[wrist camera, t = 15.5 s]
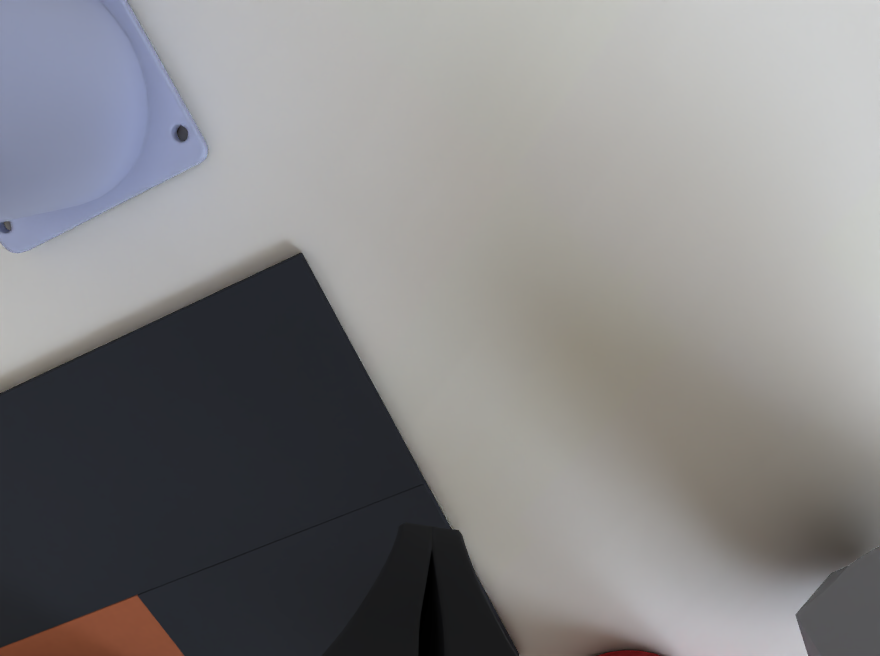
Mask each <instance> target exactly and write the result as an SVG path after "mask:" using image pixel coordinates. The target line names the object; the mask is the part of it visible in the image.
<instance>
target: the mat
mask: <svg viewBox="0 0 880 656" xmlns="http://www.w3.org/2000/svg"><path fill="white" fill-rule="evenodd" d="M404 522H406V523H413V524H419V525H426V526H433V527H440V528H446V529H451V527H450V525H449V524H448V522H447V520H446V518H445V516H444V514H443V512H442V511H441V509H440V507H439V505H438V503H437V501H436V500H435V498H434V496H433V494H432V492H431V490H430V488H429V487H428V485H427V483H426V481H425V479H424V477H423V475H422V474H421V472H420V470H419V468H418V466H417V464H416V463H415V461H414V459H413V457H412V455H411V453H410V451H409V450H408V448H407V446H406V444H405V442H404V440H403V439H402V437H401V435H400V433H399V431H398V429H397V427H396V426H395V424H394V422H393V420H392V418H391V416H390V414H389V413H388V411H387V409H386V407H385V405H384V403H383V402H382V400H381V398H380V396H379V394H378V392H377V390H376V389H375V387H374V385H373V383H372V381H371V379H370V378H369V376H368V374H367V372H366V370H365V368H364V366H363V365H362V363H361V361H360V359H359V357H358V355H357V353H356V352H355V350H354V348H353V346H352V344H351V342H350V341H349V339H348V337H347V335H346V333H345V331H344V329H343V328H342V326H341V324H340V322H339V320H338V318H337V317H336V315H335V313H334V311H333V309H332V307H331V305H330V304H329V302H328V300H327V298H326V296H325V294H324V293H323V291H322V289H321V287H320V285H319V283H318V281H317V280H316V278H315V276H314V274H313V272H312V270H311V268H310V267H309V265H308V263H307V261H306V259H305V257H304V256H303V254H302V253H299V254H297V255H295V256H293V257H291V258H288V259H286V260H284V261H282V262H280V263H278V264H276V265H274V266H271V267H269V268H267V269H265V270H263V271H261V272H259V273H256V274H254V275H252V276H250V277H248V278H246V279H244V280H242V281H239V282H237V283H235V284H233V285H231V286H229V287H227V288H224V289H222V290H220V291H218V292H216V293H214V294H212V295H210V296H207V297H205V298H203V299H201V300H199V301H197V302H195V303H192V304H190V305H188V306H186V307H184V308H182V309H180V310H178V311H175V312H173V313H171V314H169V315H167V316H165V317H163V318H160V319H158V320H156V321H154V322H152V323H150V324H148V325H146V326H143V327H141V328H139V329H137V330H135V331H133V332H131V333H128V334H126V335H124V336H122V337H120V338H118V339H116V340H114V341H111V342H109V343H107V344H105V345H103V346H101V347H99V348H96V349H94V350H92V351H90V352H88V353H86V354H84V355H82V356H79V357H77V358H75V359H73V360H71V361H69V362H67V363H64V364H62V365H60V366H58V367H56V368H54V369H52V370H50V371H47V372H45V373H43V374H41V375H39V376H37V377H35V378H32V379H30V380H28V381H26V382H24V383H22V384H20V385H18V386H15V387H13V388H11V389H9V390H7V391H5V392H3V393H0V656H322V655H323V654H324V653H325V651H326V650H327V649H328V648H329V647H330V645H331V644H332V643H333V642H334V641H335V639H336V638H337V637H338V635H339V634H340V633H341V632H342V630H343V629H344V628H345V626H346V625H347V624H348V622H349V621H350V620H351V618H352V617H353V615H354V614H355V612H356V611H357V609H358V608H359V606H360V605H361V603H362V602H363V600H364V599H365V597H366V596H367V594H368V593H369V591H370V590H371V588H372V586H373V585H374V583H375V581H376V579H377V577H378V575H379V574H380V572H381V570H382V568H383V566H384V565H385V563H386V561H387V558H388V556H389V554H390V552H391V550H392V547H393V545H394V542H395V540H396V536H397V533H398V528H399V525H401V524H403V523H404ZM476 576H477V575H476ZM477 578H478V577H477ZM478 580H479V579H478ZM479 583H480V581H479ZM480 585H481V583H480ZM481 587H482V589H483V592H484V594H485V596H486V598H487V600H488V602H489V604H490V606H491V609H492V611H493V612H494V614H495V616H496V618H497V620H498V622H499V624H500V626H501V628H502V629H503V631H504V633H505V635H506V637H507V639H508V640H509V642H510V644H511V645H512V647H513V649H514V650H515V652H516V654H517V655H518V656H519V653H518V651H517V649H516V647H515V646H514V644H513V642H512V640H511V638H510V636H509V634H508V633H507V631H506V629H505V627H504V625H503V623H502V622H501V620H500V618H499V616H498V614H497V612H496V610H495V609H494V607H493V605H492V603H491V601H490V599H489V597H488V596H487V594H486V592H485V590H484V588H483V586H482V585H481Z"/></svg>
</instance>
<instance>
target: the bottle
mask: <svg viewBox="0 0 880 656" xmlns="http://www.w3.org/2000/svg"><path fill="white" fill-rule="evenodd" d="M796 618H797V621H798V625H799V628H800V631H801V634H802V637H803V641H804V644H805V647H806V650H807V653H808V656H880V546H879V547H877V548H875V549H873V550H872V551H870V552H868V553H867V554H865V555H863V556H862V557H860V558H858V559H857V560H856V561H854V562H853V563H852V564H850V565H849V566H846V567H844V568H842V569H840V570H837V571H835V572H833V573H831V574H830V575H829V576H828V577H827V579H826V580H825V581H824V582H823V583H822V584H821V586H820V587H819V588H818V589H817V590H816V591H815V593H814V594H813V595H812V596H811V597H810V598H809V600H808V601H807V602H806V603H805V604H804V605H803V607H802V608H801V609H800V610H799V611H798V612H797V614H796Z"/></svg>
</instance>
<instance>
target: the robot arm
mask: <svg viewBox="0 0 880 656" xmlns="http://www.w3.org/2000/svg"><path fill="white" fill-rule="evenodd" d="M180 125H182V126H184V127H185V128H186V129H187V132H188V138H187V140H186V141H185V142H184V141H181V140H180V139H179V138H178V135H177V129H178V127H179V126H180ZM207 154H208V146H207V143H206V141H205V139H204V137H203V135H202V134H201V132H200V130H199V128H198V127H197V125H196V123H195V121H194V119H193V118H192V116H191V114H190V112H189V110H188V109H187V107H186V105H185V103H184V102H183V100H182V98H181V96H180V94H179V93H178V91H177V89H176V87H175V85H174V84H173V82H172V80H171V78H170V77H169V75H168V73H167V71H166V69H165V68H164V66H163V64H162V62H161V60H160V59H159V57H158V55H157V53H156V52H155V50H154V48H153V46H152V44H151V43H150V41H149V39H148V37H147V35H146V34H145V32H144V30H143V28H142V27H141V25H140V23H139V21H138V19H137V18H136V16H135V14H134V12H133V10H132V9H131V7H130V5H129V3H128V2H127V0H0V243H1V244H2V245H3V246H4V247H5V248H6V249H7V250H9V251H10V252H13V253H21V252H25V251H28V250H31V249H32V248H34V247H36V246H38V245H40V244H42V243H44V242H46V241H48V240H50V239H52V238H54V237H56V236H58V235H60V234H62V233H64V232H66V231H68V230H70V229H72V228H74V227H76V226H78V225H80V224H82V223H84V222H85V221H87V220H89V219H91V218H93V217H95V216H97V215H99V214H101V213H103V212H105V211H107V210H109V209H111V208H113V207H115V206H117V205H119V204H121V203H123V202H125V201H127V200H129V199H131V198H133V197H135V196H137V195H138V194H140V193H142V192H144V191H146V190H148V189H150V188H152V187H154V186H156V185H158V184H160V183H162V182H164V181H166V180H168V179H170V178H172V177H174V176H176V175H178V174H180V173H182V172H184V171H186V170H188V169H190V168H191V167H193V166H195V165H197V164H199V163H201V162H202V161H204V160H205V159H206V157H207ZM5 221H9V222H10V224H11V226H12V227H11V231H10V230H8V229H7V228H6V227H5V224H4V222H5ZM322 656H518V655H517V654H516V652H515V650H514V649H513V647H512V645H511V644H510V642H509V640H508V639H507V637H506V635H505V633H504V631H503V629H502V628H501V626H500V624H499V622H498V620H497V618H496V616H495V614H494V612H493V611H492V609H491V606H490V604H489V602H488V600H487V598H486V596H485V594H484V592H483V589H482V587H481V585H480V583H479V580H478V578H477V576H476V573H475V571H474V568H473V566H472V563H471V561H470V558H469V555H468V552H467V550H466V546H465V543H464V540H463V536H462V534H461V533H460V532H459V530H453V529H446V528H440V527H433V526H426V525H419V524H413V523H406V522H404V523H403V524H401V525H399V528H398V533H397V536H396V540H395V542H394V545H393V547H392V550H391V552H390V554H389V556H388V558H387V561H386V563H385V565H384V566H383V568H382V570H381V572H380V574H379V575H378V577H377V579H376V581H375V583H374V585H373V586H372V588H371V590H370V591H369V593H368V594H367V596H366V597H365V599H364V600H363V602H362V603H361V605H360V606H359V608H358V609H357V611H356V612H355V614H354V615H353V617H352V618H351V620H350V621H349V622H348V624H347V625H346V626H345V628H344V629H343V630H342V632H341V633H340V634H339V635H338V637H337V638H336V639H335V641H334V642H333V643H332V644H331V645H330V647H329V648H328V649H327V650H326V651H325V653H324V654H323V655H322Z"/></svg>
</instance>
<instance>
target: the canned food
mask: <svg viewBox="0 0 880 656" xmlns="http://www.w3.org/2000/svg"><path fill="white" fill-rule="evenodd" d="M597 656H660V655H658V654H655V653H650V652H644V651H634V650H622V651H614V652H608V653H604V654H601V655H597Z"/></svg>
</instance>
